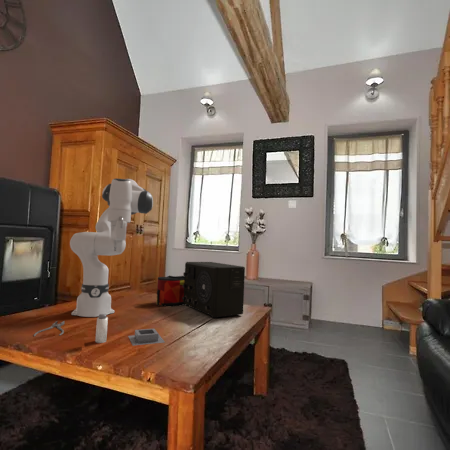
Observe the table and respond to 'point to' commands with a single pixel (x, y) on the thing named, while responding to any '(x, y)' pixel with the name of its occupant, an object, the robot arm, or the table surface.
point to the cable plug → (101, 328)
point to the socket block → (145, 337)
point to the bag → (170, 291)
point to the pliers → (53, 327)
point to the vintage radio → (214, 288)
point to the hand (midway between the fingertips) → (117, 251)
